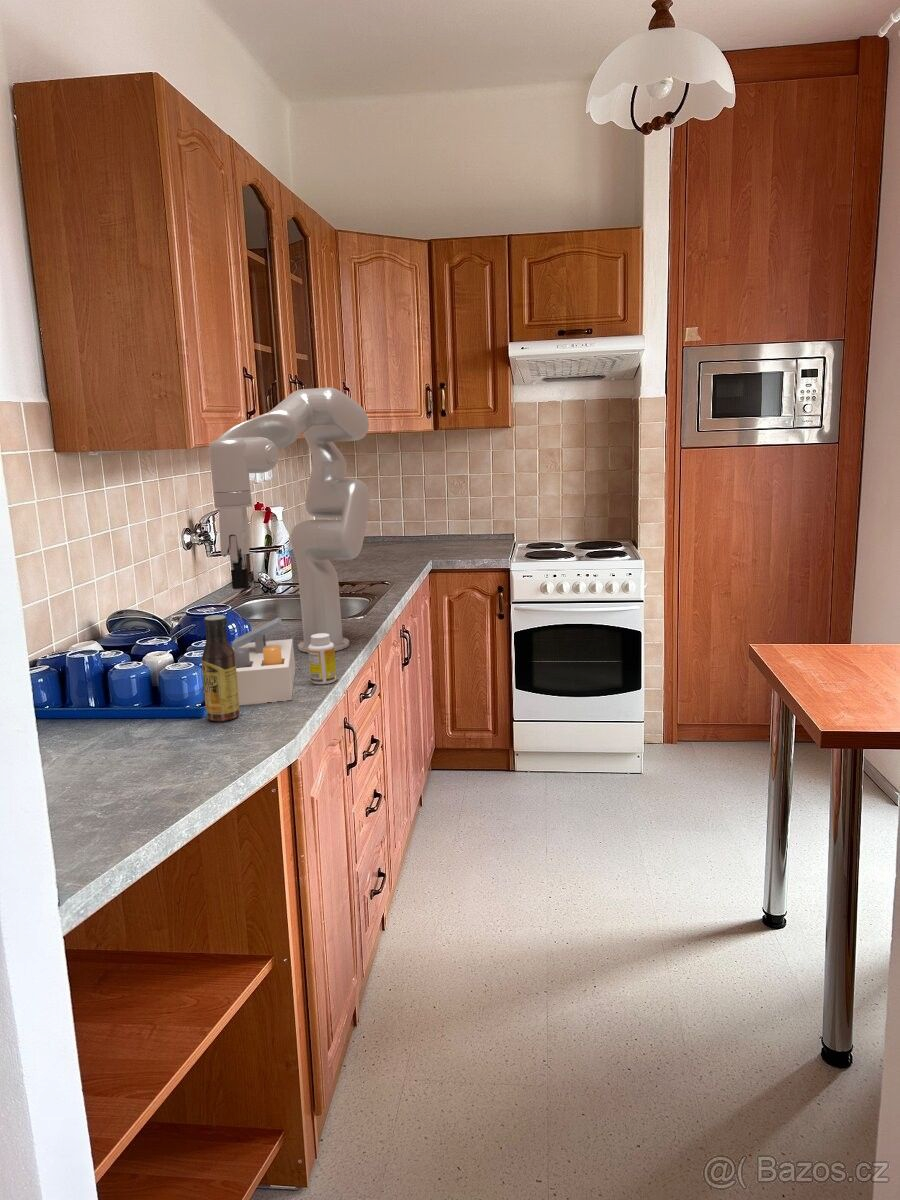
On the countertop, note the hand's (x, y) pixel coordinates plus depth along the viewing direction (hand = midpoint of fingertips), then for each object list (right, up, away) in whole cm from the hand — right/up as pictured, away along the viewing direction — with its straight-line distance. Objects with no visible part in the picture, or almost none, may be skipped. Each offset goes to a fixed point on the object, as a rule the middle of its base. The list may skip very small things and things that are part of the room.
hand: (240, 587), depth 186 cm
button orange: (+8, -20, -4) cm, 22 cm away
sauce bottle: (+1, -25, -16) cm, 30 cm away
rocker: (+3, -11, +6) cm, 13 cm away
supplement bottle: (+17, -20, +5) cm, 27 cm away
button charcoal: (+2, -20, -5) cm, 21 cm away
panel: (+4, -21, +3) cm, 22 cm away
